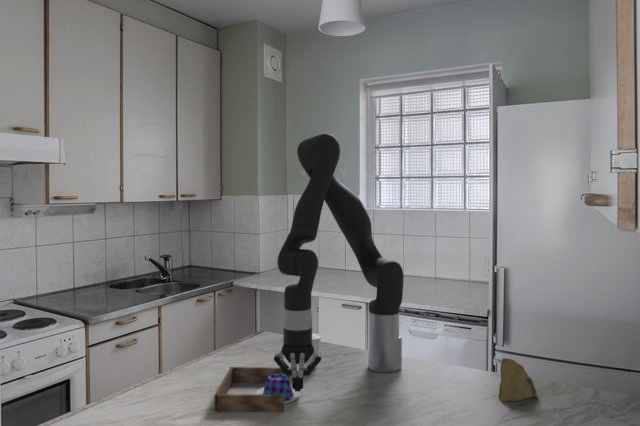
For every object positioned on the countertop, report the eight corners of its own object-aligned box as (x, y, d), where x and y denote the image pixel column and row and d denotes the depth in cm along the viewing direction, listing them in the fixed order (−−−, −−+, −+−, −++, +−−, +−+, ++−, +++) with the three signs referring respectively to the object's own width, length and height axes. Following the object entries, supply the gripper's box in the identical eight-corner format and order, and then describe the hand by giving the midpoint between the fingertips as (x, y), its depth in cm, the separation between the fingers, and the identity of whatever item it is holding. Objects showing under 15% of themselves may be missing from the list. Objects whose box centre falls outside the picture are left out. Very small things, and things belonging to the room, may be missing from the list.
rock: (535, 381, 129) (497, 372, 132) (543, 363, 124) (502, 354, 127) (536, 418, 122) (495, 408, 125) (544, 401, 116) (501, 391, 119)
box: (289, 381, 134) (289, 367, 134) (283, 412, 116) (283, 396, 116) (230, 380, 135) (230, 366, 135) (214, 411, 116) (214, 395, 116)
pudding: (305, 389, 130) (306, 370, 129) (292, 409, 118) (292, 388, 118) (264, 385, 133) (264, 366, 132) (247, 403, 121) (247, 383, 121)
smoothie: (322, 364, 148) (322, 319, 147) (320, 371, 141) (320, 325, 141) (302, 363, 148) (302, 318, 148) (299, 371, 142) (299, 324, 141)
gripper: (323, 321, 128) (323, 384, 128) (273, 320, 128) (274, 384, 129) (323, 329, 120) (322, 396, 121) (270, 329, 120) (271, 396, 121)
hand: (297, 390), depth 125 cm, fingers closed
